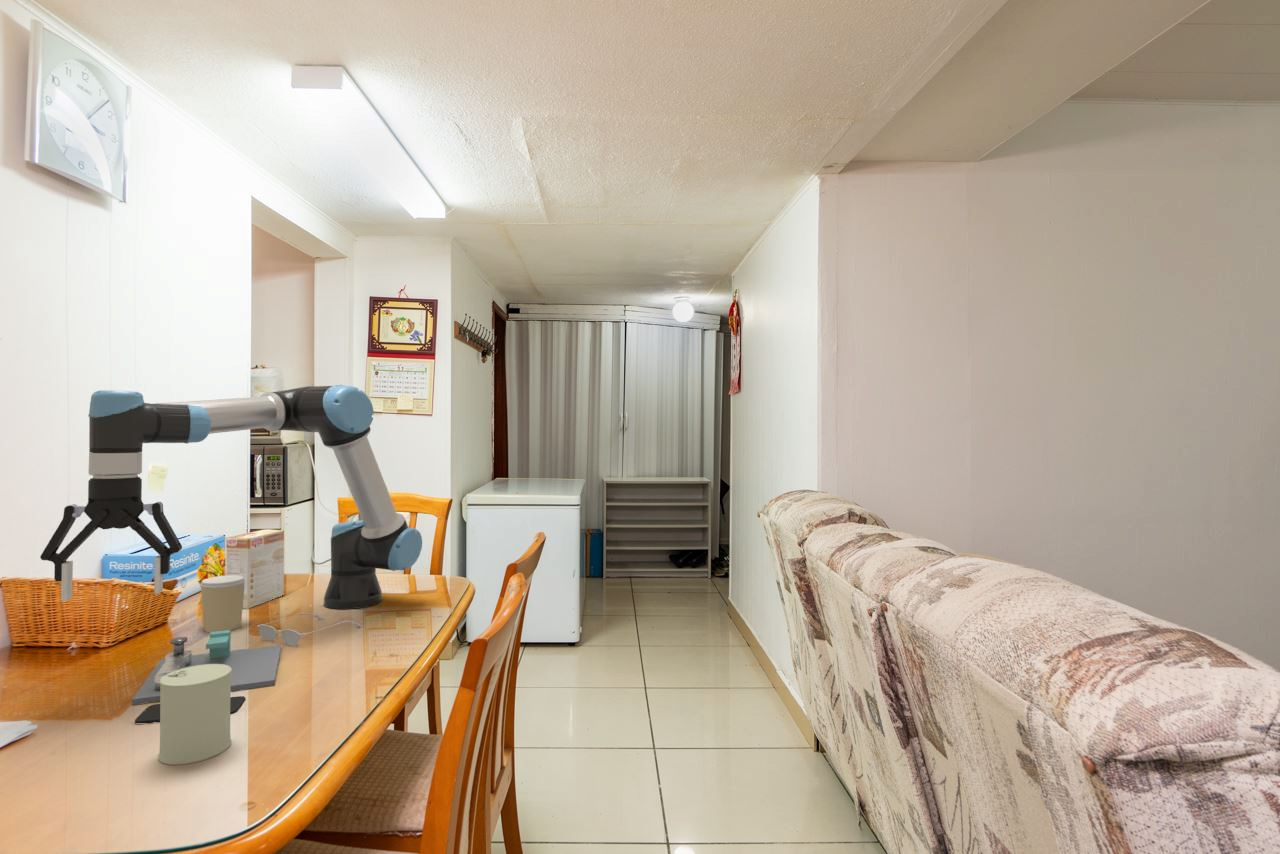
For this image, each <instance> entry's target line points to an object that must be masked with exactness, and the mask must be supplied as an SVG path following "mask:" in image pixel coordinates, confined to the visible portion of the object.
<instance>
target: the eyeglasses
mask: <svg viewBox="0 0 1280 854" xmlns="http://www.w3.org/2000/svg"><path fill="white" fill-rule="evenodd" d="M302 615H308V616H313V617H315V618H317V620H318V621H319V620H323V621H325V620H324V619H325V618H324V617H322V616H320V615H319V614H318V615H317V614H314V613H307V612H306V613H298V614H294V615H292V616H289V617H288V616H287V617H284V618H281V619H277V620H275V621H271V622H268V623H264V624H263V623H260V624H258V625H256V627H257V628H258V632H259V635H260V638H261V640H264V641H269V642H274V641H275V639H276V637H277V636H278V633H279V632H280V633H281V638H282V641H283V644H284V645H287V646H291V647H297V646H298V645H299V642H300V638H301V637H305V636H308V634H312V633H314V632H317V631H321V630H323V629H327V628H331V627H333V626H336V625H340V624H343V623H348V622H349V623H352V624H354V625H355V626H356V628H357V629H359V627H360V628H362V627H363V626H362V625H361V624H359V623H358V622H357V621H353V620H343V621H340V622H338V623H336V624H332V625H329V626H326V627H323V628H320V629H317V630H313V631H310V632H303V633H299V632H298V631H296V630H293V629H282V630H280V629H279V630H278V629H276V628H275V627H274V626H271V625H269V624H271V623H275V622H278V621H281V620H285V619H290V618H293V617H297V616H302Z"/></svg>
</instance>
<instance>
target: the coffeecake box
mask: <svg viewBox="0 0 1280 854" xmlns="http://www.w3.org/2000/svg"><path fill="white" fill-rule="evenodd" d="M225 539H226V547H225V548H226V550H225V551H226V553H225V556H226V557H225V558H226V559H225V560H226V561H225V563H226V564H225V567H226V568H225V569H226V571H225V572H226V573H225V576H227V575H239V576H243V577H244V579H245V583H244V596H243V608H242V610H248V609H251V608H254V607H257V606H259V605H262V604H265V603H267V602H271V601H273V600H276V599H278V598H277V597H279V598H281V597H283V596H282V595H284V594H285V593H284V591H285V590H284V589H285V587H284V580H285V579H284V578H285V577H284V575H285V574H284V573H285V572H284V570H285V568H284V565H285V564H284V563H285V562H284V561H285V559H284V558H285V530H284V529H272V528H271V529H269V528H268V529H260V530H255V531H251V532H245V533H241V534H236V535H232V536H228V537H226V538H225ZM280 596H281V597H280ZM275 598H276V599H275ZM272 599H273V600H272Z"/></svg>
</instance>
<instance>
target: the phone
mask: <svg viewBox="0 0 1280 854" xmlns="http://www.w3.org/2000/svg"><path fill="white" fill-rule="evenodd" d="M245 702H246V697H245V696H242V695H238V696H230V715H234V714H236V713H237V712H239V710H240V708H241V707H242V705H243V704H244V703H245ZM153 722H157V723H160V703H155V704H151V705H149V706H147V707H145V709H144V710H143V711H142V712H141V713H140V714H139V715H138V716H137V717H136V718H135V720H134V724H135V723H148V724H154V723H153Z"/></svg>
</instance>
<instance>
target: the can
mask: <svg viewBox="0 0 1280 854" xmlns="http://www.w3.org/2000/svg"><path fill="white" fill-rule="evenodd" d="M231 671H232V669H231V667H230V666H228V665H224V664H204V665H197V666H191V667H187V668H183V669H179V670H176V671H173V672H171V673H168V674H166V675H165V676H163V677H162V678H161V679H160V701H159V702H160V703H159V704H160V722H159V727H160V728H159V753H158V756H157V758H158V761H159V762H160V763H161V764H162V763H163V764H165V765H170V766H171V765H172V766H179V765H181V766H182V765H190V764H194V763H198V762H202V761H206V760H207V759H208V760H209V759H211V758H214V757H216V756H218V755H220V754H222V753H223V752H225V751H226V750H228V748H229V747H230V746H231V744H232V739H231V714H230V697H231V692H232V691H231Z"/></svg>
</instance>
